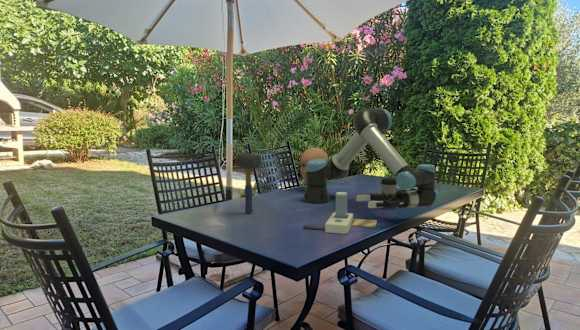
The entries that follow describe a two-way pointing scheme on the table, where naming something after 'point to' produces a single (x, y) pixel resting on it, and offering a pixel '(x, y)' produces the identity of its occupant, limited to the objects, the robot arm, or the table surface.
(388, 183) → the coffee cup
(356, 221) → the coaster
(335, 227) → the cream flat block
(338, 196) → the pale grey tall block
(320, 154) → the mannequin head
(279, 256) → the table surface
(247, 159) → the rubber mallet
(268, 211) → the table surface
